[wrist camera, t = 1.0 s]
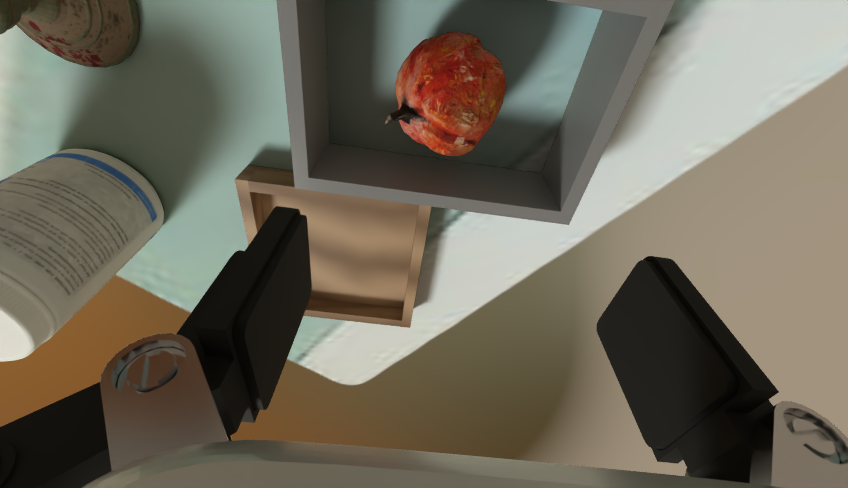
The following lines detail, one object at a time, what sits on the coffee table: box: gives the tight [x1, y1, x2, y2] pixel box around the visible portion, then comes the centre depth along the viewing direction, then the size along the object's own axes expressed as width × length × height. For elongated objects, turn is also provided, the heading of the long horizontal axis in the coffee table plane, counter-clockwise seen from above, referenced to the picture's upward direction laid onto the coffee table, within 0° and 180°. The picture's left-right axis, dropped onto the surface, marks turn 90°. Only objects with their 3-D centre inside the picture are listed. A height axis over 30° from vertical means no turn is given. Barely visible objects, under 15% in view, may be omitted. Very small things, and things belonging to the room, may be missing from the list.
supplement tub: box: [0, 149, 164, 361], centre depth 27 cm, size 10×10×15 cm
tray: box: [235, 165, 431, 328], centre depth 35 cm, size 16×16×3 cm
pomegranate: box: [385, 32, 507, 156], centre depth 24 cm, size 7×7×10 cm
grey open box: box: [277, 0, 675, 225], centre depth 24 cm, size 14×20×6 cm
